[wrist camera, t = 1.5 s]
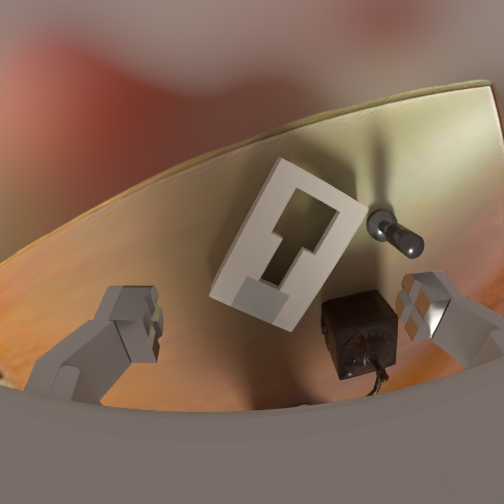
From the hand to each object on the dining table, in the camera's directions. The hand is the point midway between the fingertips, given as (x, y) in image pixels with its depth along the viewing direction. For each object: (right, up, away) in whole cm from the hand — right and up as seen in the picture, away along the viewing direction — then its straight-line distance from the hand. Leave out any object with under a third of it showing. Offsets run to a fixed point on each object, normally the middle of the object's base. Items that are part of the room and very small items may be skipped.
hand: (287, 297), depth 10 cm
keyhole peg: (+19, +6, +37) cm, 42 cm away
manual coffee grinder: (+17, -13, +44) cm, 49 cm away
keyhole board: (+4, +3, +38) cm, 38 cm away
